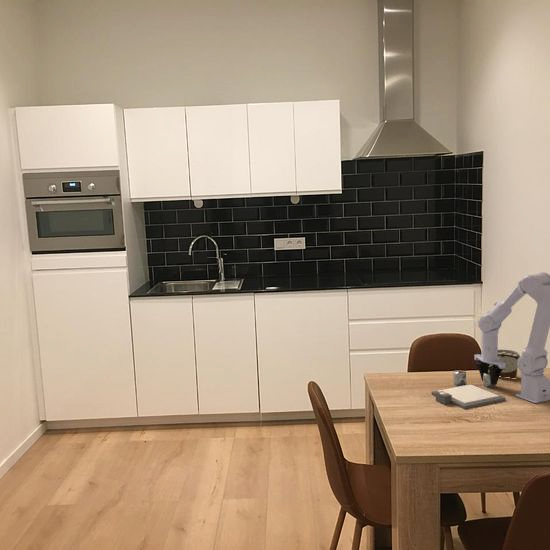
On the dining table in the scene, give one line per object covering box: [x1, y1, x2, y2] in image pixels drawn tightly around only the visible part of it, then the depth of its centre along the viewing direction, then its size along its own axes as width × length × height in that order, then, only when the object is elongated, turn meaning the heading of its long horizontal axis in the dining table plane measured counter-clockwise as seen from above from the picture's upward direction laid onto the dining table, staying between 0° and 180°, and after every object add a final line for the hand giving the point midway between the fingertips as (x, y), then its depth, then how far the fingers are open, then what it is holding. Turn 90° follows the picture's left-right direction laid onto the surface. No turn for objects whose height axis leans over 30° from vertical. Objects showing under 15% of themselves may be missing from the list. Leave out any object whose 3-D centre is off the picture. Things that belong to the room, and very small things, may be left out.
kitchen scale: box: [431, 383, 507, 410], centre depth 222 cm, size 18×21×3 cm
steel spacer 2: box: [482, 371, 497, 389], centre depth 234 cm, size 4×4×5 cm
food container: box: [490, 349, 521, 379], centre depth 245 cm, size 12×6×10 cm, turn 58°
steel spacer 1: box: [453, 369, 467, 387], centre depth 237 cm, size 4×4×5 cm
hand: (489, 382), depth 234 cm, fingers closed on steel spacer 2, 4 cm apart
